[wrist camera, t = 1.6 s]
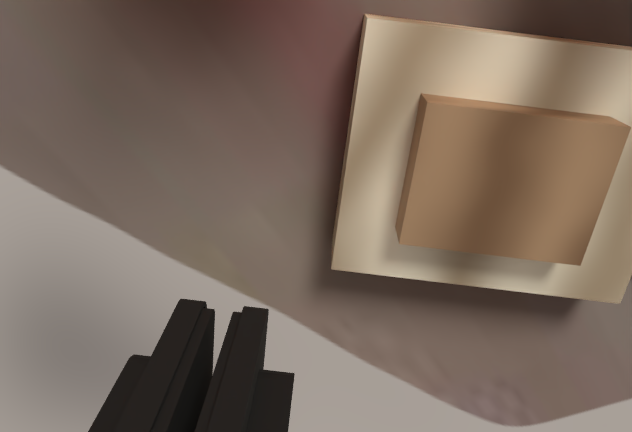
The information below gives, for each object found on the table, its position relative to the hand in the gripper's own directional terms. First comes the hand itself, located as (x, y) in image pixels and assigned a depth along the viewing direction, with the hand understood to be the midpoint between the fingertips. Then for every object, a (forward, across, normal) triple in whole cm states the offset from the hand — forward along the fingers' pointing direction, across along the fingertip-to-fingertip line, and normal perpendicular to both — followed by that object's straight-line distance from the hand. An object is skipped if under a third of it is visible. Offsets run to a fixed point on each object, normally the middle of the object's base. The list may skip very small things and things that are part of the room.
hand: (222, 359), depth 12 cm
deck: (+19, -11, 0) cm, 22 cm away
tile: (+16, -10, 0) cm, 19 cm away
